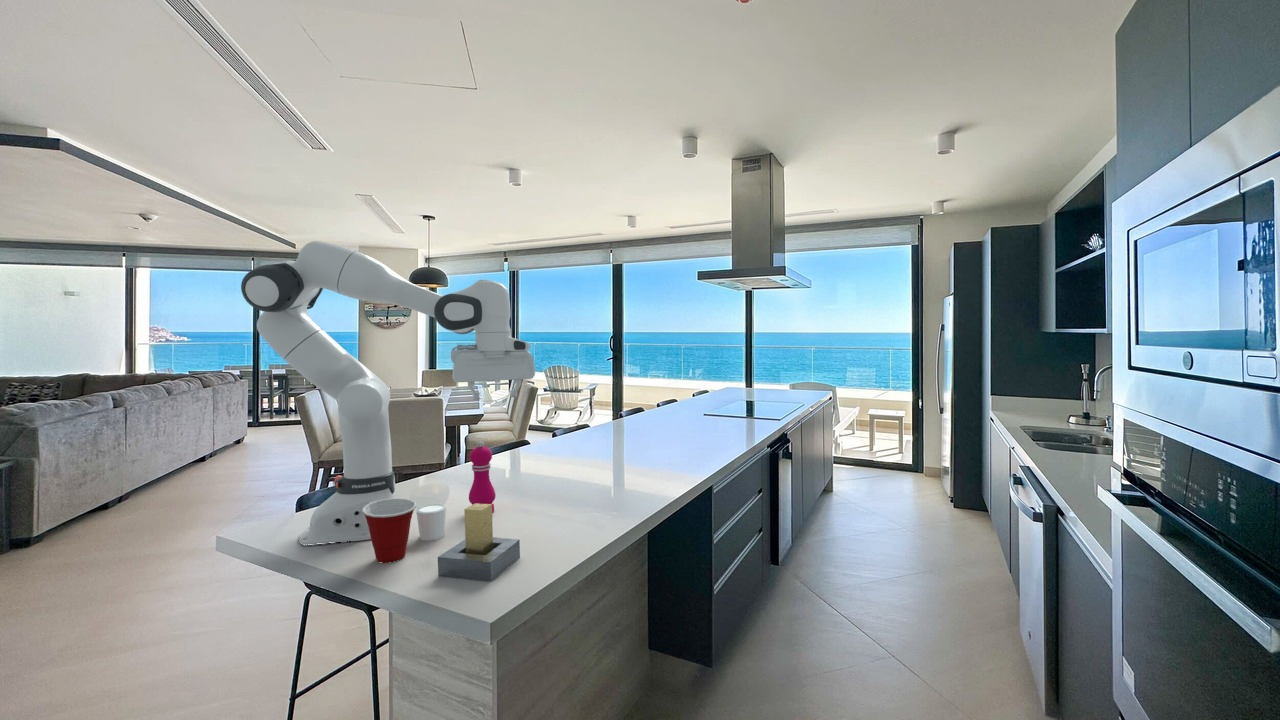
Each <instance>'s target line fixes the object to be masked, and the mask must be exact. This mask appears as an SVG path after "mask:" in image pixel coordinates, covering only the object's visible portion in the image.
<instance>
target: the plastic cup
mask: <svg viewBox="0 0 1280 720" xmlns="http://www.w3.org/2000/svg"><path fill="white" fill-rule="evenodd" d="M416 508H417V503H416V501H414V500H412V499H408V498H403V497H402V498H398V497H394V498H393V499H384V500H379V501H375V502H372V503H370V504H367V505H366V506H364V507H363V510H362V512H363V513H364V515H365V517H366V520H367V524H368V527H369V531H370V536H371V539H370V540H371V544H372V548H373V550H374V556H375V559H376V562H377V563H379V562H382V563H381V564H390V563H389V562H391V563H395V562H398V561H397V560H399V561H400V559H401V560H403V559H404V558H405V557H406V554H407V546H408V542H409V535H410V528H411V523H412V516H413V514H414V512H415V509H416ZM403 557H404V558H403ZM402 558H403V559H402ZM394 561H395V562H394Z"/></svg>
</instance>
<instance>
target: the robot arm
mask: <svg viewBox="0 0 1280 720" xmlns="http://www.w3.org/2000/svg"><path fill="white" fill-rule="evenodd" d="M240 284H241V285H240V290H241V294H242V296H243V298H244V300H245V301H246V302H247V304H248V305H250V306H251V307H252V308H254V309H256V310H258V311H261V312H262V313H261V314H260V315H259V316H258V317H259V318H258V319H257V322H256V330H257V331H258V333H259V334H260V336H261V337H262V339H263V340H264V341H265V342H266V344H268V345H269V347H271V349H272V350H273V351H274V352H275V353H276V354H277V355H278V356H279V357H280V358H282V359H283V360H284V361H285V362H286V363H287V364H288V365H290V366H291V368H293V369H294V370H296V371H297V372H298V373H299V374H300V375H301V376H302V377H303V378H304V379H306V381H308V382H309V383H310V384H312V385H313V386H316V387H317V388H319V389H320V390H321V391H323V392H324V393H326V394H327V395H328V396H330V397H331V398H333V400H335V401H336V402H337V412H338V422H339V430H340V431H339V432H340V436H341V443H342V455H343V456H342V459H343V461H342V462H343V475H336V476H335V478H334V480H333V481H334V490H335V491H334V492H335V493H333V494H332V495H331V496H330V497H328V498H327V499H326V500H324V501H323V502H322V503H321V504H320V505H319V506H317V508H316V509H314V511H313V513H312V515H311V518H310V522H309V526H308V527H306V528H305V529H304V530H302V532H301V533H300V535H299V541H300V542H301V543H302V544H305V545H306V544H307V545H308V544H317V543H329V542H341V543H349V541H351V542H357V541H358V542H359V541H369V540H371V536H370V531H369V527H368V524H367V520H366V517H365V515H364V513H363V512H362V510H363V507H364V506H366V505H367V504H370V503H372V502H375V501H379V500H384V499H393V498H395V492H396V491H395V490H396V477H395V471H394V470H393V461H392V459H393V458H392V440H391V430H390V429H391V428H390V417H389V415H390V413H389V404H390V401H391V391H390V389H389V387H388V385H387V384H386V383H385V382H384V381H383V380H382V379H381V378H379V376H377V375H376V374H375V373H374V372H372V371H371V370H370V369H369V368H368V367H366V366H365V365H364V364H363V363H362V362H360V360H358V359H357V358H356V357H355V356H353V355H352V354H351V353H349V351H347V350H346V349H344V347H342V346H341V345H340V344H339V343H338V342H337V341H336V340H335V339H334V338H333V337H332V336H331V335H330V334H328V332H326V331H325V330H324V329H323V328H322V327H320V326H319V325H318V324H317V323H316V322H315V321H314V320H313V319H312V318H311V317H310V315H309V313H308V310H310V309H312V308H313V307H314V305H315V304H316V302H317V299H318V298H319V297H320V295H321V293H322V292H323V291H324V289H325V290H329V291H332V292H334V293H337V294H339V295H342V296H345V297H348V298H350V299H356V300H359V301H364V302H371V303H377V304H378V303H379V304H386V305H387V304H389V305H393V306H394V305H395V306H400V307H404V308H407V309H411V310H413V311H415V312H419V313H422V314H424V315H426V316H428V317H431V318H434V319H435V320H436V322H437V323H438V325H439V326H441V327H442V328H443V329H444V330H447V331H449V332H453V333H454V334H457V335H466V334H470V333H472V332H474V331H475V332H474V334H475V337H474V338H475V344H468V345H467V344H465V345H463V344H457V345H456V346H455V347H453V348H452V349H451V351H450V360H451V362H452V363H453V366H452V380H453V381H454V382H455V383H467V387H468V389H469V390H470V391H471V393H472V400H473V401H476V400H477V401H479V400H480V399H481V397H480V395H481V394H480V392H479V391H478V392H477V391H476V390H475V388H474V387H475V385H476V384H475V382H476V383H477V382H493V381H513V383H514V384H515V386H514V387H513V389H511V390H510V391H509V392H510V398H518V391H519V389H520V387H521V386H522V380H530V379H531V380H532V379H534V377H535V376H536V368H535V361H534V356H533V354H532V352H530V351H529V350H530V349H531V348H530V347H531V344H530V343H529V342H528V341H524V340H520V339H519V338H514V337H512V329H511V326H510V320H511V314H512V313H511V302H510V294H509V290H508V288H507V287H506V286H505V285H504V284H503V283H501V282H498V281H496V280H489V279H478V280H476V281H475V282H474V283H473V284H471V285H469V286H468V287H465V288H463V289H459V290H458V291H455V292H452V293H451V292H450V293H448V294H445V295H443V294H439V293H437V292H434V291H432V290H429V289H426V288H425V287H422V286H419V285H416V284H414V283H412V282H411V281H409V280H407V279H405V278H404V277H403V276H401V275H399V274H398V273H397V272H396V271H394V270H392V269H391V268H390V267H389V266H387V265H385V264H384V263H382V262H380V261H379V260H377V259H375V258H373V257H371V256H369V255H367V254H364V253H362V252H360V251H357V250H354V249H351V248H349V247H346V246H342V245H339V244H335V243H330V242H327V241H321V240H314V241H310V242H308V243H306V244H305V245H304V246H302V248H300V250H299V253H298V255H297V258H296V259H291V260H289V259H288V260H279V261H274V262H272V263H269V264H263V265H260V266H257V267H255V268H253V269H251V270H250V271H248V272H247V273H246V274H245V276H244V277H243V279H241V283H240ZM347 541H348V542H347ZM300 542H299V543H300Z"/></svg>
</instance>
